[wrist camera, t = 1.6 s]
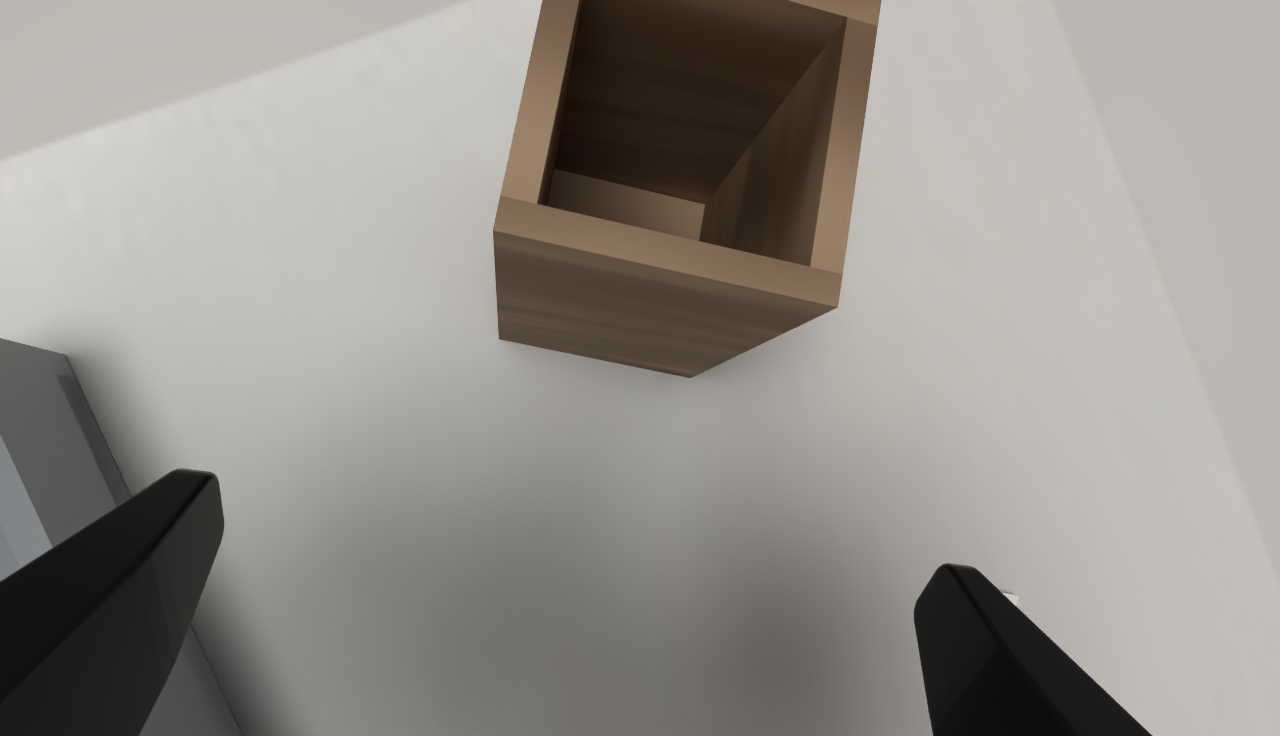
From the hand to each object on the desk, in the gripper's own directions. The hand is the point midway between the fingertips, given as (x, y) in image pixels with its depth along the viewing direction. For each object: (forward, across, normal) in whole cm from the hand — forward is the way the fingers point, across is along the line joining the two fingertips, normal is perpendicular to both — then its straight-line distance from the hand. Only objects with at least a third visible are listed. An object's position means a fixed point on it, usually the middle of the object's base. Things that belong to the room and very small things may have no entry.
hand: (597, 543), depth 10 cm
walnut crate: (+15, -1, +4) cm, 16 cm away
